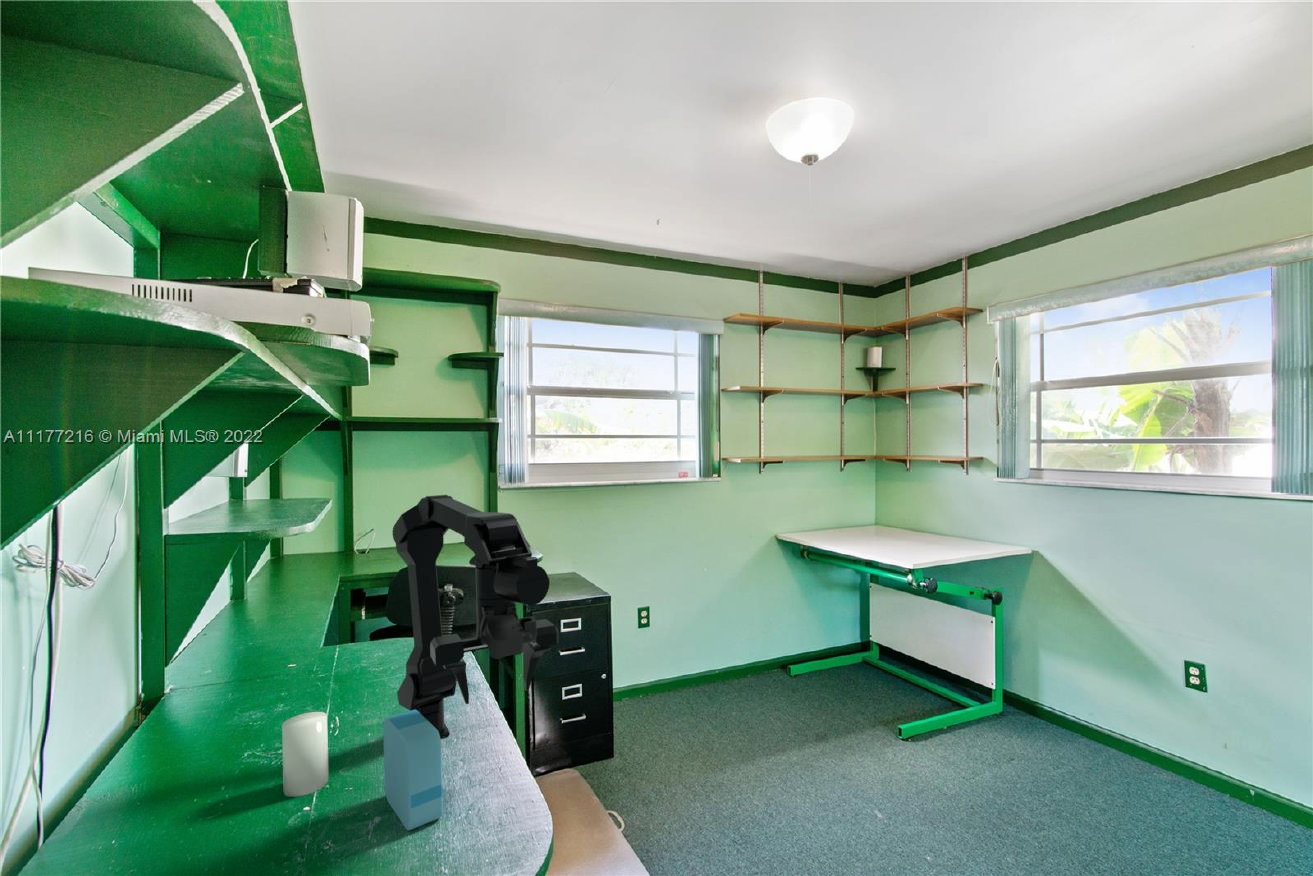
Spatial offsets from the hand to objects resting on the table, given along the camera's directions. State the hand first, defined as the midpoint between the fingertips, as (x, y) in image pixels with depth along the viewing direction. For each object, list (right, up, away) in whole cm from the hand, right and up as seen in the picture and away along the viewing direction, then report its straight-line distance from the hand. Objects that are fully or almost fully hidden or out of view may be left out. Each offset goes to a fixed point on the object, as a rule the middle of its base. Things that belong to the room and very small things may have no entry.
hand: (497, 696), depth 92 cm
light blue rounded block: (-10, -13, -8) cm, 18 cm away
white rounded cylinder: (-29, -14, 0) cm, 32 cm away
